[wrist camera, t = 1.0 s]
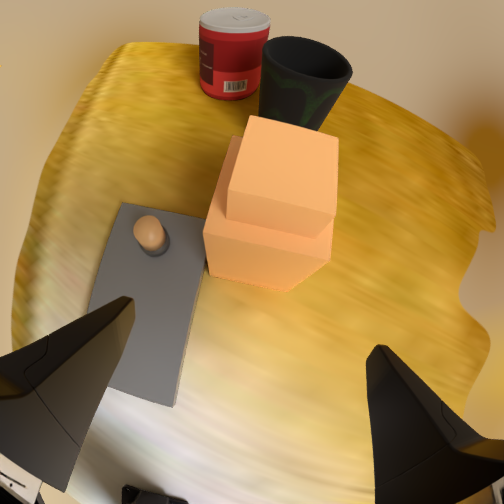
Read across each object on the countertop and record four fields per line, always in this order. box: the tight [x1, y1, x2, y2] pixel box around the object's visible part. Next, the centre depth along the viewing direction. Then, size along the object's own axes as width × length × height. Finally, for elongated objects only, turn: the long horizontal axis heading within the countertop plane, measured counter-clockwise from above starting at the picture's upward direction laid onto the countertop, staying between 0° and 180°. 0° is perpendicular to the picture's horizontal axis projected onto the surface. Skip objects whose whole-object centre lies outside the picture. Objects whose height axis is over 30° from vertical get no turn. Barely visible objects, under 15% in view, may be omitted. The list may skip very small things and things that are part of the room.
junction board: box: [87, 202, 207, 408], centre depth 20 cm, size 16×9×4 cm, turn 169°
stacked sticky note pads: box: [203, 115, 338, 292], centre depth 18 cm, size 7×7×13 cm
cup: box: [258, 36, 353, 131], centre depth 23 cm, size 8×8×12 cm
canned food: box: [199, 7, 270, 100], centre depth 26 cm, size 8×8×11 cm
